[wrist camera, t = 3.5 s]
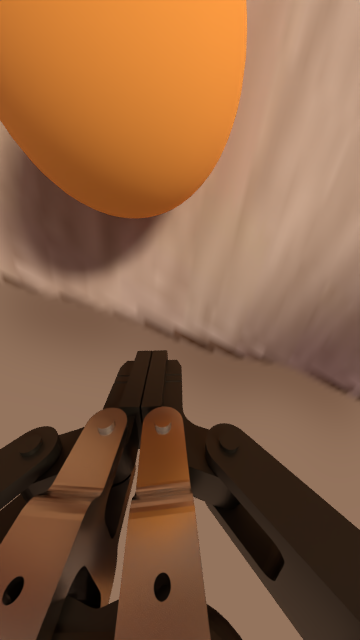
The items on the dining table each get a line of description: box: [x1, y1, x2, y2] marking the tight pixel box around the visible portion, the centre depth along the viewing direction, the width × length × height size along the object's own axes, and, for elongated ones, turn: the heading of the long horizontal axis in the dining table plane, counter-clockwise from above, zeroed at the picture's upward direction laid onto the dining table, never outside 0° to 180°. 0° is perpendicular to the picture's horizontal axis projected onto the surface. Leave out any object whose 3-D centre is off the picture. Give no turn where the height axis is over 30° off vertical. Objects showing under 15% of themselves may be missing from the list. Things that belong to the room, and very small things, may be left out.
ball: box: [0, 0, 247, 218], centre depth 5 cm, size 6×6×6 cm
